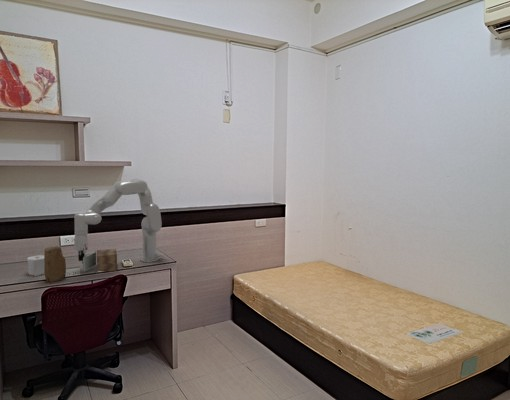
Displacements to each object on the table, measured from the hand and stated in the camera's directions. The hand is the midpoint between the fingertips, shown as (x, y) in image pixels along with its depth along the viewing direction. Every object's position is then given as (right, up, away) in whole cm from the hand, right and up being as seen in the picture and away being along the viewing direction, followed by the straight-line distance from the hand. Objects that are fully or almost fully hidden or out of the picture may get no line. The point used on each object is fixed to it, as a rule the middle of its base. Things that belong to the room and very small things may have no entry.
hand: (81, 260), depth 240 cm
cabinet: (+13, -7, +9) cm, 17 cm away
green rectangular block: (+2, -6, +6) cm, 8 cm away
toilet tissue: (-25, -7, -5) cm, 26 cm away
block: (-8, -9, -16) cm, 20 cm away
